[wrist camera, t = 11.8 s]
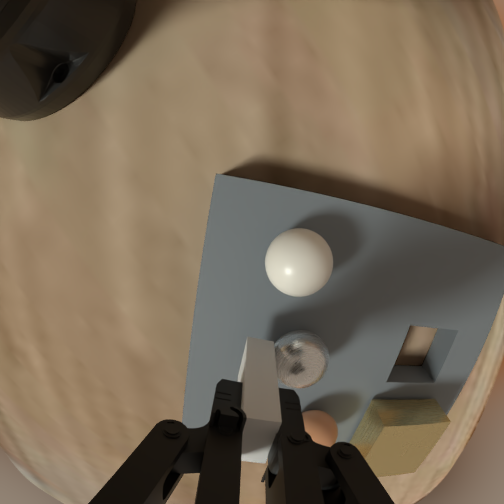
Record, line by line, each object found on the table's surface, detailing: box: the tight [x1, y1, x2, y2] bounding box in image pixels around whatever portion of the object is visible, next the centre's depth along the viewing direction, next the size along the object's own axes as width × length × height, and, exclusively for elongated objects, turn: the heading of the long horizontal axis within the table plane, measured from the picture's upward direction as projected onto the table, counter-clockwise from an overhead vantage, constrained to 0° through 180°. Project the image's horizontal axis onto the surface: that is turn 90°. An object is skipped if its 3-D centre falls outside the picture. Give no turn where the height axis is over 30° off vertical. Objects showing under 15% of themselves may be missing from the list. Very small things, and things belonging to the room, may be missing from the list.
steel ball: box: [274, 330, 329, 389], centre depth 17 cm, size 3×3×3 cm
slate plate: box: [182, 174, 504, 443], centre depth 20 cm, size 22×18×2 cm
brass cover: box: [349, 399, 451, 477], centre depth 19 cm, size 6×6×3 cm
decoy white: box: [265, 228, 333, 297], centre depth 16 cm, size 3×3×3 cm
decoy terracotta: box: [302, 410, 338, 447], centre depth 18 cm, size 3×3×3 cm
